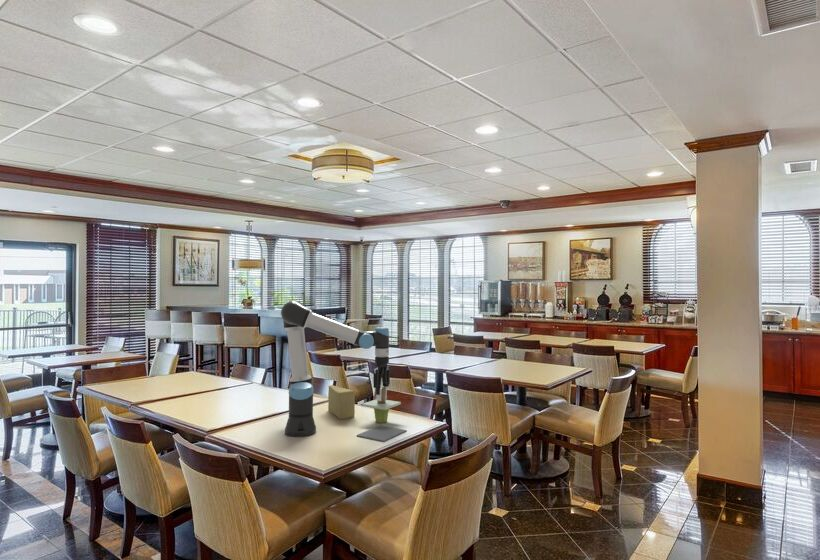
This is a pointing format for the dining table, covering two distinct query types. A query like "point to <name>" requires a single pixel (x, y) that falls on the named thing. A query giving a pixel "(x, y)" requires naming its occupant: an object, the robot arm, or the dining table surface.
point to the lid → (381, 402)
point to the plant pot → (381, 415)
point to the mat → (381, 433)
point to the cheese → (341, 402)
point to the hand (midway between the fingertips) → (381, 399)
